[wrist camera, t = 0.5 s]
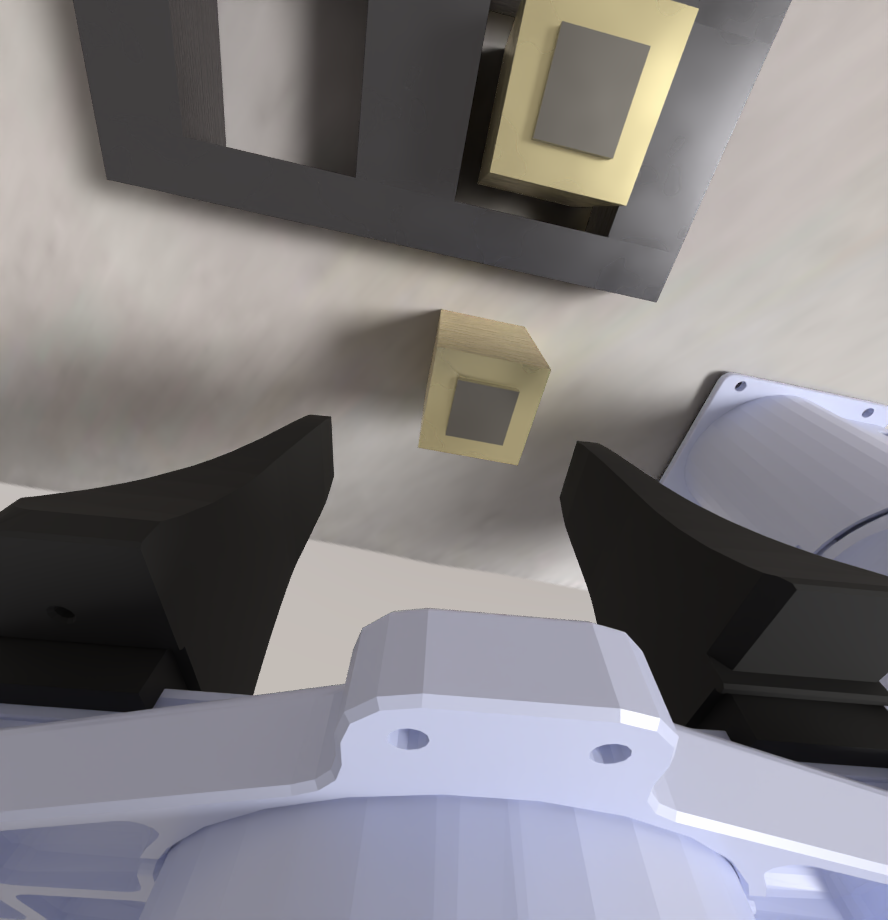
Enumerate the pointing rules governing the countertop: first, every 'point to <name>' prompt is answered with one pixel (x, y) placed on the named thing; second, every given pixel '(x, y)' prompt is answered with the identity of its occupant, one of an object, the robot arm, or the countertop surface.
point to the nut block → (482, 388)
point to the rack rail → (416, 134)
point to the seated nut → (582, 97)
